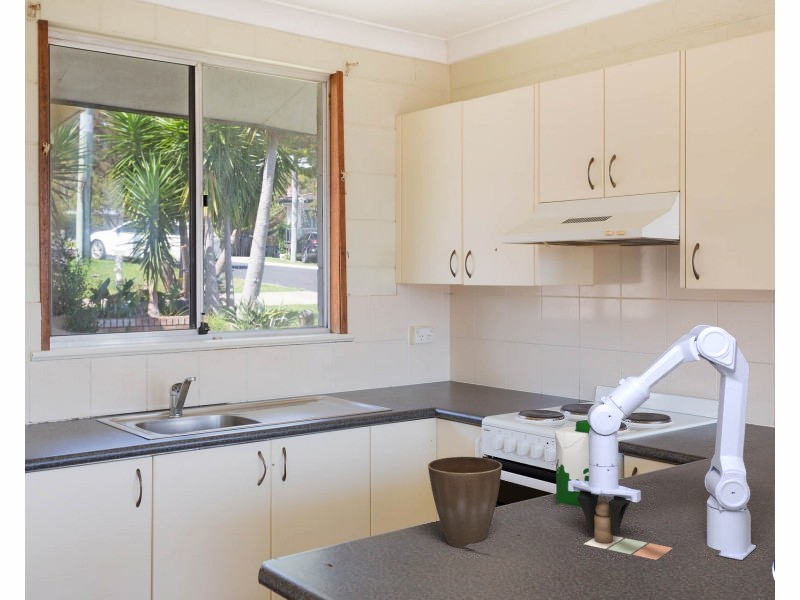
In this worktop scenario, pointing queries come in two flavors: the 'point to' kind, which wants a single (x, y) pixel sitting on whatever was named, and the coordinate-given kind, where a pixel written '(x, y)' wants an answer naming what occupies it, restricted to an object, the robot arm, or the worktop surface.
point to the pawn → (602, 523)
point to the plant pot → (465, 496)
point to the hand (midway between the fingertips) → (603, 532)
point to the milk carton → (571, 460)
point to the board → (633, 547)
